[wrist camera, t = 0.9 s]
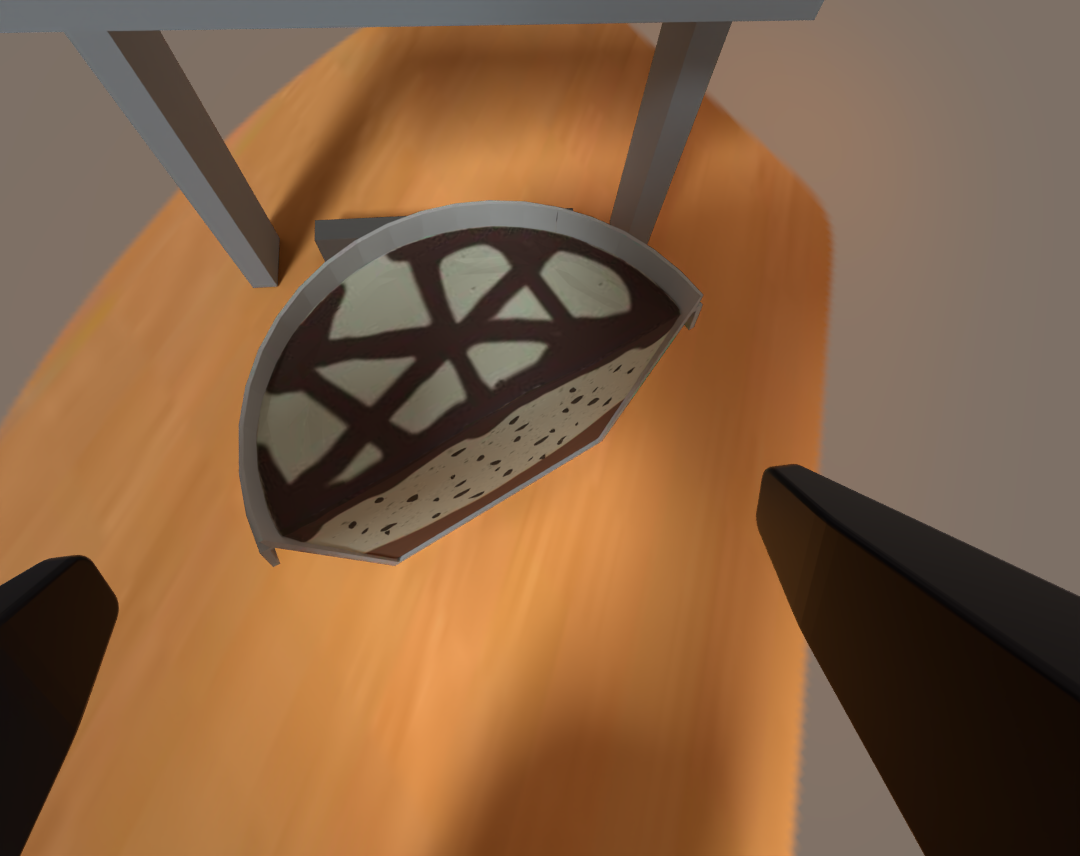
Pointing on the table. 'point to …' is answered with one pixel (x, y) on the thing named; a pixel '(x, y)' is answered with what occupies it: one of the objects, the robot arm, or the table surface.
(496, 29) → the table surface
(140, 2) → the overhang shelf
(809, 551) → the robot arm
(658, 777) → the table surface
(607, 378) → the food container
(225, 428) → the table surface
